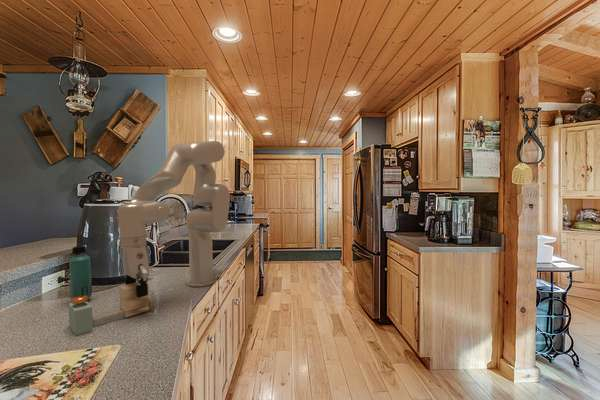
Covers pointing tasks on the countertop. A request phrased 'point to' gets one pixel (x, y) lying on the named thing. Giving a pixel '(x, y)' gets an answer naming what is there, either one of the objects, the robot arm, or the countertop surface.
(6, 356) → the countertop surface
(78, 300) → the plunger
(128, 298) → the light wood block
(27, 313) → the countertop surface
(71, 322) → the grey-green rectangular block
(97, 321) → the rail
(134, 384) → the countertop surface
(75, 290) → the beverage bottle
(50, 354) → the countertop surface
